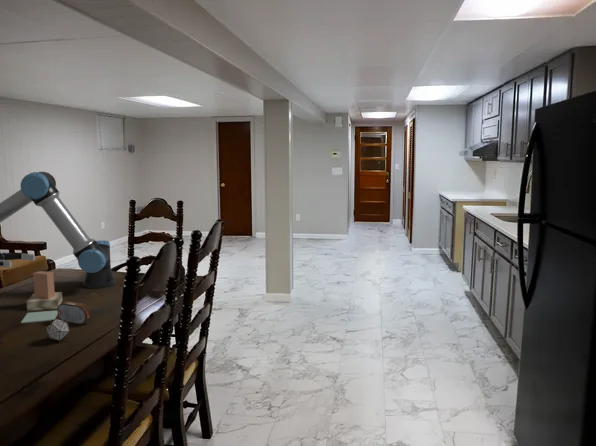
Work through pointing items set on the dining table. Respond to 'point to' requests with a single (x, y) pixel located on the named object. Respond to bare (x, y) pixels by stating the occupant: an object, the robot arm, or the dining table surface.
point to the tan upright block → (43, 284)
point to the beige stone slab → (44, 302)
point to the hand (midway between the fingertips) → (22, 260)
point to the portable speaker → (74, 312)
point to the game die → (57, 329)
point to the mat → (40, 316)
